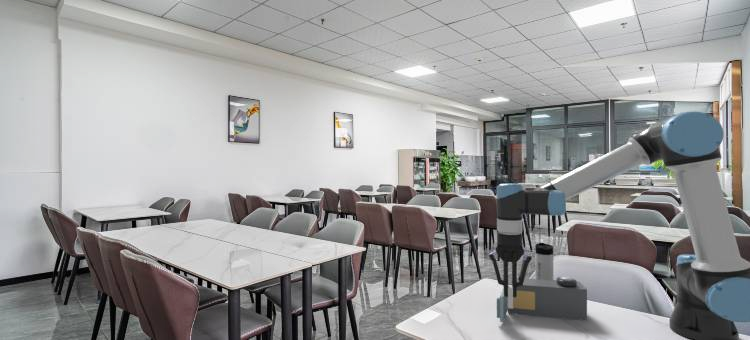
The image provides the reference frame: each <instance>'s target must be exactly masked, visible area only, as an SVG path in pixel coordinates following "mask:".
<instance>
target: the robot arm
mask: <svg viewBox="0 0 750 340" xmlns="http://www.w3.org/2000/svg"><path fill="white" fill-rule="evenodd" d="M724 135H725V134H724V128H723V125H722V124H721V122H719V120H718V119H716V117H714V116H712V115H710V114H708V113H706V112H702V111H683V112H679V113H677V114H672V115H671V116H668V117H666V118H665V117H664V118H662V119H660V120H658V121H656V122H654V123H653V124H651V125H650V126H649V127H647V128H645V129H644V130H642V131H640V132H639V133H637V134H635V135H633V136H631V137H629V138H628V141H627V143H625V144H624V145H621V146H619V147H618V148H615V149H612V151H609V152H608V153H605V154H603V155H601V156H599V157H598V158H595V159H592V160H591V161H589V162H586V163H585V164H583V165H582V166H579V167H577V168H575V169H573V170H571V171H569V172H567V173H565V174H564V175H561V176H560V177H558V178H556V179H553V180H552V181H549V182H547V183H545V184H544V185H542V186H540V187H539V186H538V187H536V188H534V189H531V190H527V189H524V188H523V186H522V185H523V184H521V183H512V182H511V183H500V184H498V186H497V187H496V231H497V233H496V243H497V244H496V247H495V250H494V251H492V252H489V253H488V257H489V258H490V260H491V261H492V265H493V268H494V273H495V276H496V280H497V284H498V285H501V286H503V288H504V296H505V297H507V305H508V308H511V309H513V297H516V296H517V287H518V286H522V285H523V282H524V278H525V277H526V275H527V270H528V267H529V264H530V262H531V261H532V259H533V257H532V256H531V254H530V253H526V252H525V249H524V246H523V242H524V241H523V234H522V233H523V215H536V216H537V215H539V216H552V217H554V216H564V215H565V214H566V210H567V200H569V199H572V198H574V197H577V196H578V195H580V194H582V193H584V192H586V191H588V190H591V189H592V188H594V187H597V186H599V185H601V184H604V183H605V182H607V181H610V180H612V179H614V178H615V177H618V176H620V175H622V174H625V173H627V172H628V171H631V170H632V169H633V170H634V169H635V168H637V167H639V166H642V165H644V166H649V165H651V164H652V165H653V164H654V163H656V162H658V161H661V160H662V161H663V166H664V168H666V169H668V170H670V171H671V172H672V173H673V176H674V180H675V184H676V186H677V187H676V188H677V190H678V194H679V199H680V202H681V207H682V209H683V210H682V211H683V214H684V217H685V221H686V225H687V229H688V232H689V236H690V239H691V243H692V248H693V251H694V254H679V255H678V256H677V258H676V264H675V267H676V304H675V306H674V309H673V310H672V313H671V315H670V318H669V328H670V329H671V331H673V332H674V333H677V334H678V335H680V336H682V337H684V338H687V339H690V338H691V339H690V340H693V339H696V340H738V339H739V340H740V338H739V337H740V334H739V331H738V328H737V326H736V324H735V323H750V261H748V260H746V259H745V258H743V257H742V256H741V253H740V250H739V246H738V243H737V239H736V235H735V231H734V228H733V224H732V221H731V217H730V214H729V210H728V206H727V202H726V199H725V197H724V196H725V195H724V192H723V188H722V185H721V181H720V177H719V174H718V170H717V167H716V166H717V164H718V163H719V161H721V159H722V153H721V150H720V146H721V144H722V143H723V140H724ZM498 257H499V258H500V260H501V261H502V263H503V265H502V269H503V270H502V272H503V275H502V276H503V279H502V278H501V273H500V269H499V266H498V261H497V258H498ZM521 258H522V259H523V260H522V264H521V268H520V270H519V271H520V272H519V275H518V276H517V271H518V269H517V268H518V267H517V266H518V264H517V263H518V262H519V260H520V259H521ZM509 263H511V277H512V285H508V277H509ZM517 278H519V279H518V281H517Z"/></svg>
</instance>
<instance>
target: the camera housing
mask: <svg viewBox="0 0 750 340" xmlns="http://www.w3.org/2000/svg"><path fill="white" fill-rule="evenodd" d="M518 279H519V277H517V281H518ZM508 285H512V276H511V277H510V276H508ZM507 314H509V315H521V316H531V317H533V316H534V317H545V318H555V319H566V320H568V319H569V320H577V321H578V320H579V321H588V289H587V288H586V287H585V286H584V285H583V284H582V283H581V282H580V281H577V280H576V279H574V278H572V277H570V276H560V277H556V279H555V280H554V279H553V280H543V279H535V278H524V282H523V285H522V286H518V287H517V296H516V297H513V309H511V308H508V305H507Z"/></svg>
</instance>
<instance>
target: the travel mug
mask: <svg viewBox="0 0 750 340" xmlns="http://www.w3.org/2000/svg"><path fill="white" fill-rule="evenodd" d="M534 249H535V253H534V256H535V258H534V260H535V261H534V262H535V263H534V264H535V268H534V270H535V271H534V272H535V274H534V275H535V277H534V279H543V280H554V245H552V244H548V243H544V242H538V243H536V244H535V248H534Z"/></svg>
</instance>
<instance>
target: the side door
mask: <svg viewBox="0 0 750 340" xmlns="http://www.w3.org/2000/svg"><path fill="white" fill-rule="evenodd" d="M507 314H508V311H507V297H505V296H504V287H503V288H502V291H501V292H500V295H499V297H497V298H496V319H499V322H500V323H504V321H505V318H506V315H507Z"/></svg>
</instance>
